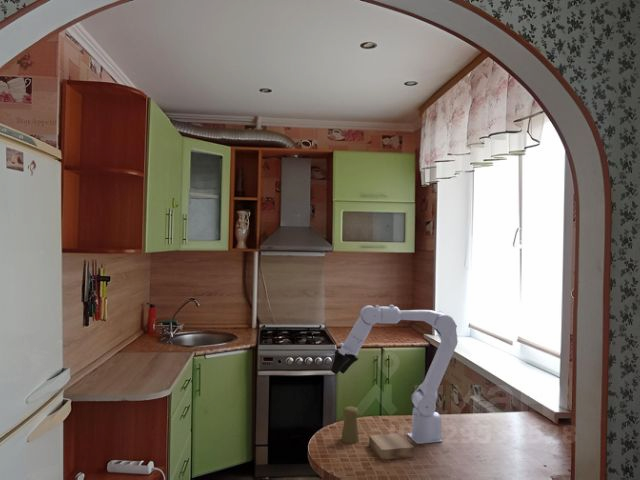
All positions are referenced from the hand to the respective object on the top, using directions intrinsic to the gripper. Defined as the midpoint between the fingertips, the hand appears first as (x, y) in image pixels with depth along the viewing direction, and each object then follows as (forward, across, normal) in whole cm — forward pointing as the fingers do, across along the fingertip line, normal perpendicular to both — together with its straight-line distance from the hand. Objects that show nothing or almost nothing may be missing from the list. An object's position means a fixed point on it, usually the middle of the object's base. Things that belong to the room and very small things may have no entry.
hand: (337, 372), depth 165 cm
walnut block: (+12, -3, +27) cm, 30 cm away
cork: (+18, -5, +14) cm, 23 cm away
